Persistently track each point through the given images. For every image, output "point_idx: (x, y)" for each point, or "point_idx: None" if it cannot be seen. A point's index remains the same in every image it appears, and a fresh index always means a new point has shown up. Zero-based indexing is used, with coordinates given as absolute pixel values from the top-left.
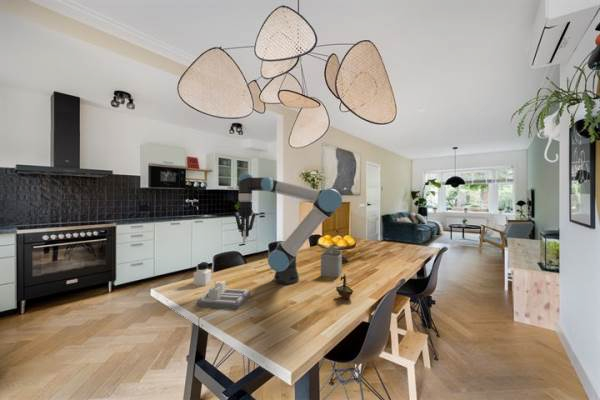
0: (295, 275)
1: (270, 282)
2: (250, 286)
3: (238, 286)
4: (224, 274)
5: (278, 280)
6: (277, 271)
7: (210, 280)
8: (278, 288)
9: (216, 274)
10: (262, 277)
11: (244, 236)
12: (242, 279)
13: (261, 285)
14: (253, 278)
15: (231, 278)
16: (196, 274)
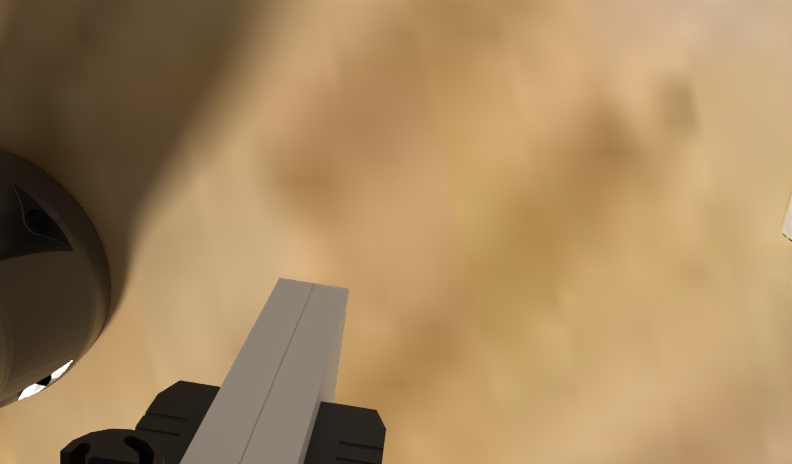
0: None
1: (132, 204)
2: (315, 87)
3: (444, 87)
4: (674, 441)
5: (23, 175)
6: (3, 259)
7: (790, 221)
8: (9, 31)
9: (762, 443)
10: None
11: (268, 368)
12: (446, 293)
13: (205, 117)
14: None
15: (572, 323)
16: None
